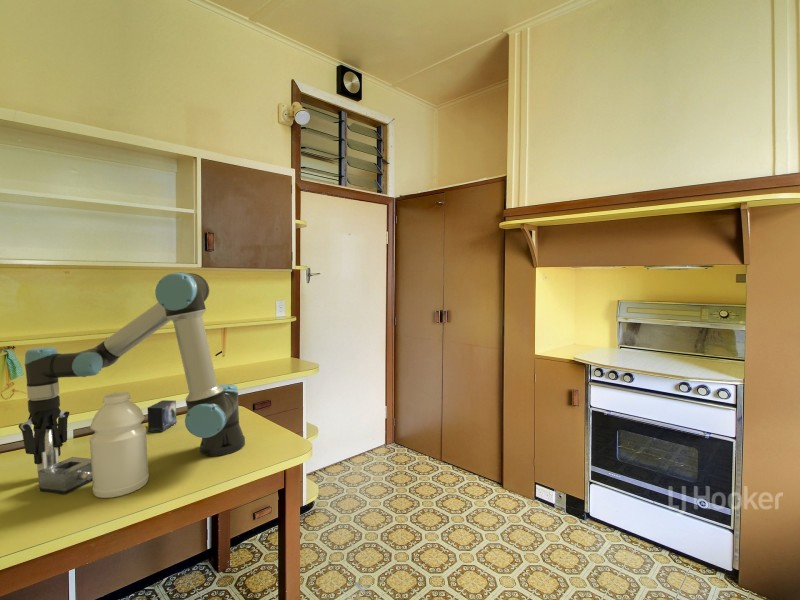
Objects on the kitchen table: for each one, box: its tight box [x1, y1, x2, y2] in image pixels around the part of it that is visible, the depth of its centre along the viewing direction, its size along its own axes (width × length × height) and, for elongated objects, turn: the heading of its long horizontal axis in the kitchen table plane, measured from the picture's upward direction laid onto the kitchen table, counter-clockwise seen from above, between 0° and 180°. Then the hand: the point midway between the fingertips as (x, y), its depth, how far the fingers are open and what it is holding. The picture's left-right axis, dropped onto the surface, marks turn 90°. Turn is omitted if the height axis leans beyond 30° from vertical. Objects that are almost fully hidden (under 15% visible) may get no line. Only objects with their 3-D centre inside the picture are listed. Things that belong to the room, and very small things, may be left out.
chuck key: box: [43, 425, 56, 467], centre depth 127 cm, size 7×3×17 cm, turn 77°
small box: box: [147, 399, 178, 433], centre depth 170 cm, size 11×6×10 cm, turn 179°
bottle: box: [89, 391, 150, 499], centre depth 120 cm, size 14×14×28 cm
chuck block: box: [37, 456, 93, 495], centre depth 123 cm, size 12×10×6 cm
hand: (48, 470), depth 127 cm, fingers closed on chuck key, 3 cm apart
